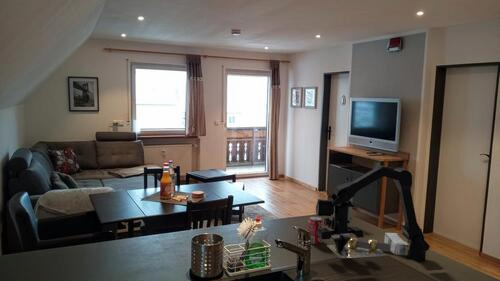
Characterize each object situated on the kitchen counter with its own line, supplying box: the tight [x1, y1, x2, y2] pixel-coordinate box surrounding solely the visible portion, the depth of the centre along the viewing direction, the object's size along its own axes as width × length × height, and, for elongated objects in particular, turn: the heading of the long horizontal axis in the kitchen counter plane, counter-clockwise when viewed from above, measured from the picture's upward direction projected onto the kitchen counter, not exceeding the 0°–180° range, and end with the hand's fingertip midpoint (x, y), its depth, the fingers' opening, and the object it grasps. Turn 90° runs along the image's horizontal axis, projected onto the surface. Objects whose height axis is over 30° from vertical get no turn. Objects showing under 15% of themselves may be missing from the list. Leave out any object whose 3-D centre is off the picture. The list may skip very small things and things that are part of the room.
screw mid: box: [347, 236, 370, 249], centre depth 162 cm, size 9×4×4 cm, turn 66°
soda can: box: [306, 215, 324, 245], centre depth 169 cm, size 7×7×12 cm
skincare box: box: [332, 197, 354, 228], centre depth 194 cm, size 8×7×16 cm
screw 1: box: [334, 243, 349, 256], centre depth 156 cm, size 9×4×4 cm, turn 12°
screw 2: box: [367, 238, 391, 252], centre depth 161 cm, size 9×4×4 cm, turn 68°
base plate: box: [326, 243, 389, 259], centre depth 160 cm, size 14×22×1 cm, turn 102°
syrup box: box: [383, 232, 409, 256], centre depth 164 cm, size 6×6×14 cm
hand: (339, 252), depth 153 cm, fingers closed
